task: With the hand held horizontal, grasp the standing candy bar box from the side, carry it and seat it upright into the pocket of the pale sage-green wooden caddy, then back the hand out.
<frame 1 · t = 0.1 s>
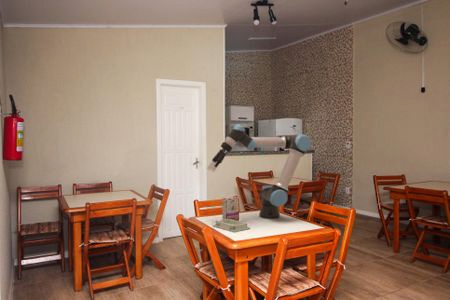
hand: (210, 170, 236), 36 cm above the table, tool tilted 35°, fingers open, 13 cm apart
candy bar box: (230, 222, 241), on the table
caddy: (231, 227, 224), on the table
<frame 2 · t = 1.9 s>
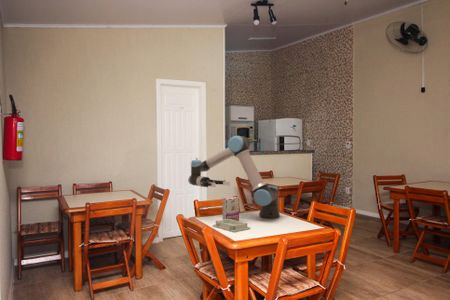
hand: (222, 184, 247), 25 cm above the table, tool horizontal, fingers open, 13 cm apart
nothing on the table moved.
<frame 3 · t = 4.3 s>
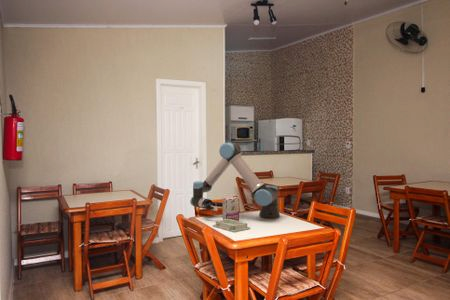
hand: (224, 207, 244), 9 cm above the table, tool horizontal, fingers open, 13 cm apart
nothing on the table moved.
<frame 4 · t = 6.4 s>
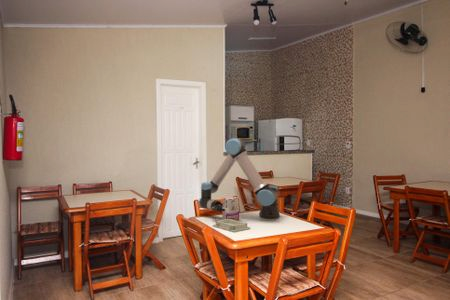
hand: (235, 209, 237), 9 cm above the table, tool horizontal, fingers closed on candy bar box, 11 cm apart
candy bar box: (230, 222, 240), on the table, touching gripper
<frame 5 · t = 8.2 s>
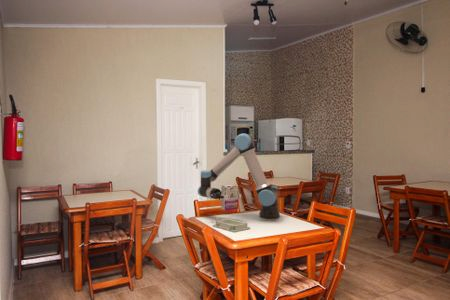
hand: (234, 197, 235), 18 cm above the table, tool horizontal, fingers closed on candy bar box, 11 cm apart
candy bar box: (229, 209, 238), point 9 cm above the table, touching gripper
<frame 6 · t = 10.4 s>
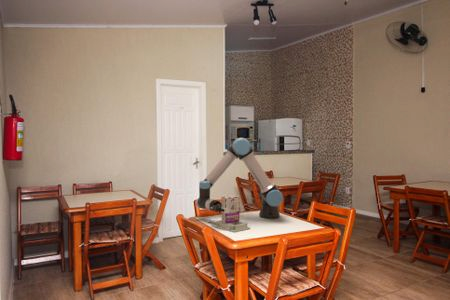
hand: (235, 210, 221), 12 cm above the table, tool horizontal, fingers closed on candy bar box, 11 cm apart
candy bar box: (230, 222, 224), point 3 cm above the table, touching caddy, gripper
when the fingers open (12 cm above the table, at t = 10.8 s): candy bar box stays where it is, resting on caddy.
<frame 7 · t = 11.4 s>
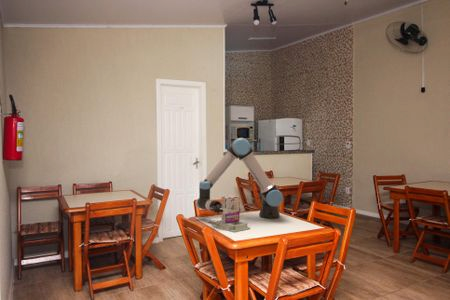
hand: (235, 210, 221), 11 cm above the table, tool horizontal, fingers open, 13 cm apart
candy bar box: (230, 222, 224), point 3 cm above the table, touching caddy
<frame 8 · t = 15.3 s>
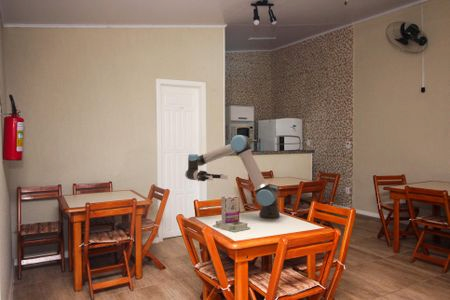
hand: (219, 178, 241), 30 cm above the table, tool horizontal, fingers open, 13 cm apart
nothing on the table moved.
at the end: candy bar box 0.9 cm off-centre on the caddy, point 3.3 cm above the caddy's base; candy bar box tilted 0°; the gripper is holding nothing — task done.
